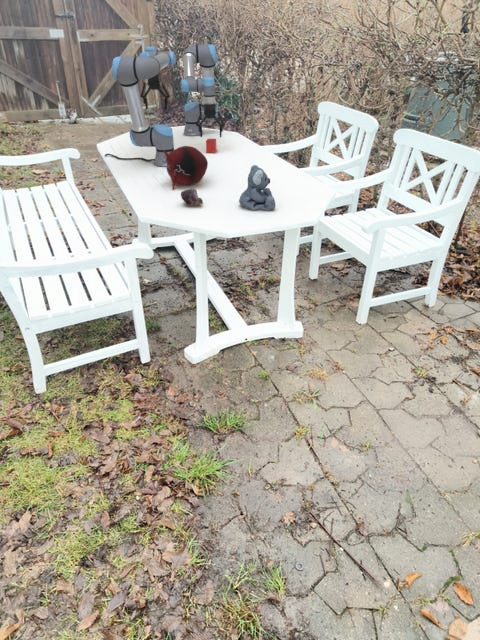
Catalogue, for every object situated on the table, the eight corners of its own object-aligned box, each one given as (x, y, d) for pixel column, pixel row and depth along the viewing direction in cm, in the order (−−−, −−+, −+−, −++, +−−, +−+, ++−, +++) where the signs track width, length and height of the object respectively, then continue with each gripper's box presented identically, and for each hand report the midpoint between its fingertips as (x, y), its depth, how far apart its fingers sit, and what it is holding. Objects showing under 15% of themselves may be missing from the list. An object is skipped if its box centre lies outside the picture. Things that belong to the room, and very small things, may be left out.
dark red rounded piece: (165, 151, 264) (159, 150, 240) (204, 143, 263) (202, 140, 240) (174, 188, 271) (169, 190, 247) (212, 180, 270) (211, 181, 247)
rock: (196, 202, 238) (178, 205, 233) (194, 185, 234) (176, 188, 230) (205, 205, 228) (187, 208, 224) (203, 188, 224) (185, 191, 220)
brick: (215, 153, 316) (214, 141, 311) (206, 153, 316) (205, 140, 312) (216, 150, 321) (216, 138, 317) (208, 150, 322) (207, 138, 317)
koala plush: (276, 211, 223) (277, 171, 212) (240, 212, 222) (240, 172, 211) (271, 199, 237) (272, 161, 226) (237, 200, 236) (237, 162, 225)
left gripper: (172, 73, 298) (175, 108, 310) (136, 73, 301) (140, 107, 313) (169, 74, 292) (172, 110, 304) (132, 74, 295) (137, 109, 307)
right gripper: (228, 102, 303) (229, 135, 314) (192, 102, 305) (194, 135, 317) (227, 104, 296) (227, 138, 308) (190, 104, 299) (192, 137, 311)
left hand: (156, 109), depth 309 cm, fingers open, 13 cm apart
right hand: (211, 136), depth 313 cm, fingers open, 13 cm apart
